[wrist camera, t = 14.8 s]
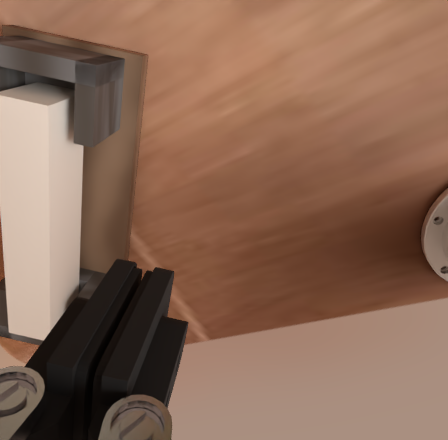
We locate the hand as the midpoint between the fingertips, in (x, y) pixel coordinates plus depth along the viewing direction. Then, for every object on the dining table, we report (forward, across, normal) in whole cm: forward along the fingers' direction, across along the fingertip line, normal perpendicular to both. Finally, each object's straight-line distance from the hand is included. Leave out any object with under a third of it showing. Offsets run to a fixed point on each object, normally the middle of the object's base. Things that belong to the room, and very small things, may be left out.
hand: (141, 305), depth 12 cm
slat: (+24, +14, +11) cm, 30 cm away
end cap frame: (+27, +14, +11) cm, 32 cm away
